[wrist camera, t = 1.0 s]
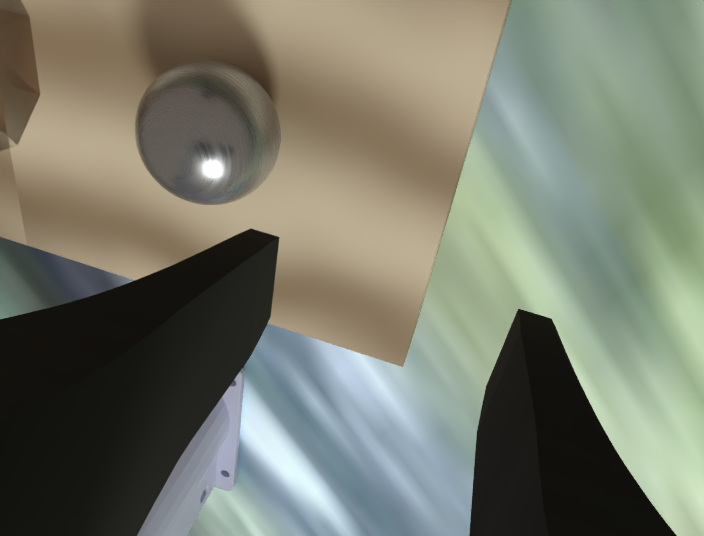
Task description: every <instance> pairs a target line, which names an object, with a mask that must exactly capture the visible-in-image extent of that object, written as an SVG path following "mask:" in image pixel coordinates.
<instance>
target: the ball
mask: <svg viewBox="0 0 704 536" xmlns="http://www.w3.org/2000/svg"><path fill="white" fill-rule="evenodd" d="M135 140H136V145H137V149H138V152H139V155H140V157H141V160H142V162H143V164H144V165H145V167H146V169H147V170H148V172H149V173H150V175H151V176H152V177H153V178H154V179H155V180H156V182H157V183H159V184H160V185H161V186H162V187H163V188H164V189H165V190H167V191H168V192H170V193H171V194H173V195H174V196H176V197H178V198H180V199H183V200H186V201H188V202H192V203H196V204H201V205H221V204H227V203H231V202H234V201H237V200H239V199H241V198H243V197H245V196H247V195H249V194H250V193H252V192H253V191H255V190H256V189H257V188H258V187H259V186H260V185H261V184H262V183H263V182H264V181H265V180H266V179H267V177H268V176H269V174H270V173H271V171H272V169H273V167H274V165H275V163H276V161H277V158H278V155H279V150H280V143H281V128H280V122H279V118H278V114H277V111H276V108H275V106H274V104H273V102H272V100H271V98H270V96H269V95H268V93H267V92H266V90H265V89H264V88H263V87H262V86H261V84H260V83H259V82H258V81H257V80H256V79H254V78H253V77H252V76H251V75H249V74H248V73H246V72H245V71H243V70H242V69H240V68H238V67H236V66H234V65H231V64H228V63H225V62H222V61H216V60H208V59H200V60H190V61H187V62H183V63H180V64H177V65H175V66H173V67H171V68H169V69H167V70H166V71H164V72H163V73H162V74H160V75H159V76H158V77H157V78H156V79H155V80H154V81H153V82H152V83H151V84H150V85H149V87H148V88H147V89H146V91H145V93H144V94H143V96H142V98H141V100H140V102H139V105H138V109H137V112H136V117H135Z"/></svg>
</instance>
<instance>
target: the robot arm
mask: <svg viewBox="0 0 704 536" xmlns="http://www.w3.org/2000/svg"><path fill="white" fill-rule="evenodd" d="M278 246H279V237H278V236H274V235H271V234H268V233H264V232H261V231H258V230H254V229H248V230H246V231H244V232H241V233H239V234H237V235H235V236H233V237H231V238H229V239H227V240H225V241H223V242H220V243H218V244H216V245H214V246H212V247H210V248H208V249H206V250H204V251H202V252H200V253H197V254H195V255H193V256H191V257H189V258H187V259H185V260H182V261H180V262H178V263H176V264H174V265H172V266H169V267H167V268H164V269H162V270H159V271H157V272H155V273H152V274H150V275H147V276H145V277H142V278H140V279H137V280H135V281H132V282H130V283H128V284H125V285H122V286H120V287H117V288H114V289H111V290H108V291H105V292H102V293H99V294H96V295H93V296H90V297H87V298H83V299H80V300H77V301H74V302H70V303H67V304H63V305H60V306H55V307H51V308H47V309H43V310H39V311H34V312H30V313H26V314H22V315H18V316H13V317H9V318H5V319H0V536H186V535H187V533H188V532H189V530H190V528H191V526H192V525H193V523H194V521H195V519H196V518H197V516H198V514H199V512H200V510H201V509H202V507H203V505H204V503H205V502H206V500H207V498H208V496H209V495H210V493H211V491H212V489H213V488H214V486H215V487H217V488H220V489H223V490H226V491H229V490H232V489H233V487H234V485H235V483H236V471H237V459H238V447H239V435H240V423H241V411H242V399H243V388H244V376H245V372H244V369H243V366H244V365H245V363H246V362H247V361H248V359H249V358H250V356H251V354H252V352H253V350H254V348H255V347H256V345H257V343H258V341H259V339H260V337H261V335H262V333H263V331H264V329H265V327H266V325H267V323H268V321H269V319H270V317H271V309H272V300H273V291H274V282H275V273H276V264H277V255H278ZM234 380H235V381H234ZM470 536H676V534H675V533H674V532H673V531H672V530H671V528H670V527H669V526H668V525H667V523H666V522H665V521H664V519H663V518H662V517H661V515H660V514H659V513H658V511H657V510H656V509H655V507H654V506H653V505H652V503H651V502H650V501H649V499H648V498H647V496H646V495H645V493H644V492H643V491H642V489H641V488H640V486H639V485H638V483H637V482H636V480H635V479H634V478H633V476H632V475H631V473H630V472H629V470H628V469H627V467H626V466H625V464H624V463H623V461H622V459H621V458H620V456H619V455H618V453H617V452H616V450H615V448H614V447H613V445H612V443H611V441H610V440H609V438H608V436H607V434H606V433H605V431H604V429H603V427H602V426H601V424H600V422H599V420H598V418H597V416H596V414H595V412H594V411H593V409H592V407H591V405H590V403H589V401H588V399H587V397H586V395H585V392H584V390H583V388H582V386H581V384H580V382H579V380H578V378H577V376H576V374H575V372H574V369H573V367H572V365H571V363H570V360H569V358H568V356H567V353H566V351H565V349H564V346H563V344H562V342H561V339H560V337H559V334H558V332H557V330H556V327H555V325H554V323H553V321H552V319H551V318H547V317H544V316H541V315H537V314H534V313H531V312H527V311H524V310H521V309H518V311H517V313H516V316H515V318H514V321H513V323H512V325H511V328H510V330H509V333H508V335H507V338H506V340H505V342H504V345H503V347H502V350H501V352H500V354H499V357H498V359H497V362H496V364H495V367H494V369H493V371H492V374H491V376H490V379H489V381H488V383H487V386H486V390H485V395H484V400H483V405H482V410H481V415H480V420H479V425H478V430H477V440H476V453H475V466H474V480H473V495H472V509H471V523H470Z"/></svg>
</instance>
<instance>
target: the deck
mask: <svg viewBox="0 0 704 536" xmlns="http://www.w3.org/2000/svg"><path fill="white" fill-rule="evenodd" d="M511 1H512V0H0V237H2V238H5V239H9V240H12V241H15V242H18V243H21V244H24V245H27V246H30V247H33V248H36V249H40V250H43V251H46V252H49V253H52V254H55V255H58V256H61V257H64V258H67V259H70V260H74V261H77V262H80V263H83V264H86V265H89V266H92V267H95V268H98V269H101V270H105V271H108V272H111V273H114V274H117V275H120V276H123V277H126V278H129V279H132V280H137V279H140V278H142V277H145V276H147V275H150V274H152V273H155V272H157V271H159V270H162V269H164V268H167V267H169V266H172V265H174V264H176V263H178V262H180V261H182V260H185V259H187V258H189V257H191V256H193V255H195V254H197V253H200V252H202V251H204V250H206V249H208V248H210V247H212V246H214V245H216V244H218V243H220V242H223V241H225V240H227V239H229V238H231V237H233V236H235V235H237V234H239V233H241V232H244V231H246V230H248V229H254V230H258V231H261V232H264V233H268V234H271V235H274V236H278V237H279V246H278V255H277V264H276V273H275V282H274V291H273V300H272V309H271V317H270V319H269V321H268V323H269V324H272V325H275V326H278V327H281V328H284V329H287V330H290V331H293V332H296V333H300V334H303V335H306V336H309V337H312V338H315V339H318V340H321V341H324V342H327V343H331V344H334V345H337V346H340V347H343V348H346V349H349V350H352V351H355V352H358V353H361V354H365V355H368V356H371V357H374V358H377V359H380V360H383V361H386V362H389V363H392V364H396V365H399V366H402V367H403V365H404V362H405V359H406V356H407V353H408V350H409V346H410V343H411V340H412V337H413V334H414V331H415V328H416V324H417V321H418V317H419V314H420V311H421V307H422V304H423V300H424V297H425V294H426V290H427V287H428V283H429V280H430V277H431V273H432V270H433V266H434V263H435V260H436V256H437V253H438V249H439V246H440V243H441V239H442V236H443V232H444V229H445V226H446V222H447V219H448V215H449V212H450V209H451V205H452V202H453V198H454V195H455V192H456V188H457V185H458V181H459V178H460V175H461V171H462V168H463V164H464V161H465V158H466V154H467V151H468V147H469V144H470V141H471V137H472V134H473V130H474V127H475V124H476V120H477V117H478V113H479V110H480V107H481V103H482V100H483V96H484V93H485V90H486V86H487V83H488V79H489V76H490V73H491V69H492V66H493V62H494V59H495V56H496V52H497V49H498V45H499V42H500V39H501V35H502V32H503V28H504V25H505V22H506V18H507V15H508V11H509V8H510V5H511ZM200 59H208V60H216V61H222V62H225V63H228V64H231V65H234V66H236V67H238V68H240V69H242V70H243V71H245V72H246V73H248V74H249V75H251V76H252V77H253V78H254V79H256V80H257V81H258V82H259V83H260V84H261V86H262V87H263V88H264V89H265V90H266V92H267V93H268V95H269V96H270V98H271V100H272V102H273V104H274V106H275V108H276V111H277V114H278V118H279V122H280V128H281V143H280V150H279V155H278V158H277V161H276V163H275V165H274V167H273V169H272V171H271V173H270V174H269V176H268V177H267V179H266V180H265V181H264V182H263V183H262V184H261V185H260V186H259V187H258V188H257V189H256V190H255V191H253V192H252V193H250V194H249V195H247V196H245V197H243V198H241V199H239V200H237V201H234V202H231V203H227V204H221V205H201V204H196V203H192V202H188V201H186V200H183V199H180V198H178V197H176V196H174V195H173V194H171V193H170V192H168V191H167V190H165V189H164V188H163V187H162V186H161V185H160V184H159V183H157V182H156V180H155V179H154V178H153V177H152V176H151V175H150V173H149V172H148V170H147V169H146V167H145V165H144V164H143V162H142V160H141V157H140V155H139V152H138V149H137V145H136V140H135V117H136V112H137V109H138V105H139V102H140V100H141V98H142V96H143V94H144V93H145V91H146V89H147V88H148V87H149V85H150V84H151V83H152V82H153V81H154V80H155V79H156V78H157V77H158V76H159V75H160V74H162V73H163V72H164V71H166V70H167V69H169V68H171V67H173V66H175V65H177V64H180V63H183V62H187V61H190V60H200Z"/></svg>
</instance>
